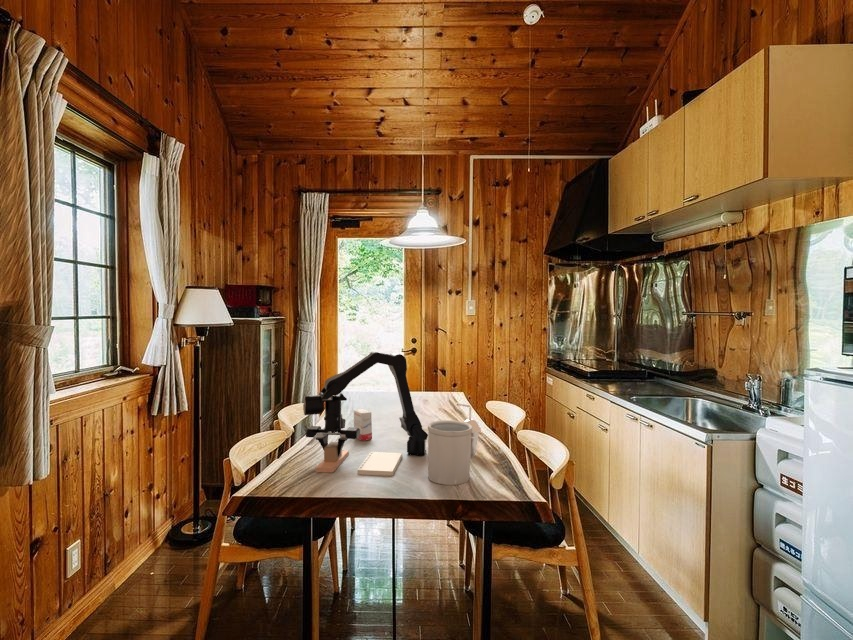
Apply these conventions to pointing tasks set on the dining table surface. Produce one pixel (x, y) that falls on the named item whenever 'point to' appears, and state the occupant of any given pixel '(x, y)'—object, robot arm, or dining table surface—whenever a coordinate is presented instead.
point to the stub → (331, 458)
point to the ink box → (363, 423)
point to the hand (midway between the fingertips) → (333, 455)
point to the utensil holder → (449, 452)
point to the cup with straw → (474, 433)
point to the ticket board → (380, 464)
